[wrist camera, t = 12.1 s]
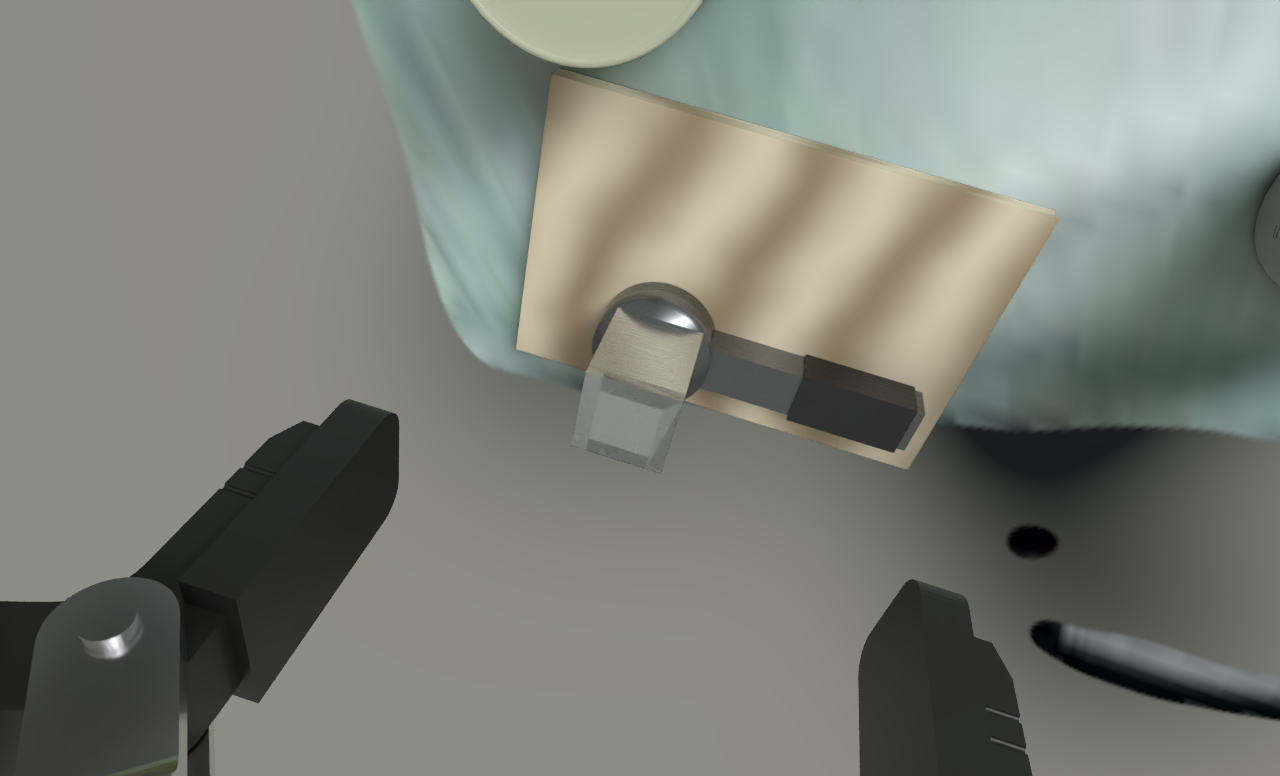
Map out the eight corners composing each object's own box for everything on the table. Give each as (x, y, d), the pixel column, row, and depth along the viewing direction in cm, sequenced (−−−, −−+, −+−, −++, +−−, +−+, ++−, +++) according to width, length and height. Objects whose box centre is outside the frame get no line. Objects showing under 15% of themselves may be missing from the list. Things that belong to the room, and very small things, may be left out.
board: (1053, 210, 34) (1059, 220, 33) (906, 456, 44) (907, 469, 43) (559, 67, 35) (551, 73, 34) (522, 338, 45) (515, 348, 44)
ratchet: (938, 364, 39) (953, 447, 33) (888, 452, 43) (894, 539, 37) (614, 267, 40) (578, 332, 34) (594, 361, 43) (559, 433, 38)
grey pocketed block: (703, 333, 38) (683, 402, 33) (682, 401, 41) (660, 473, 36) (618, 307, 38) (585, 371, 33) (602, 376, 41) (570, 445, 36)
